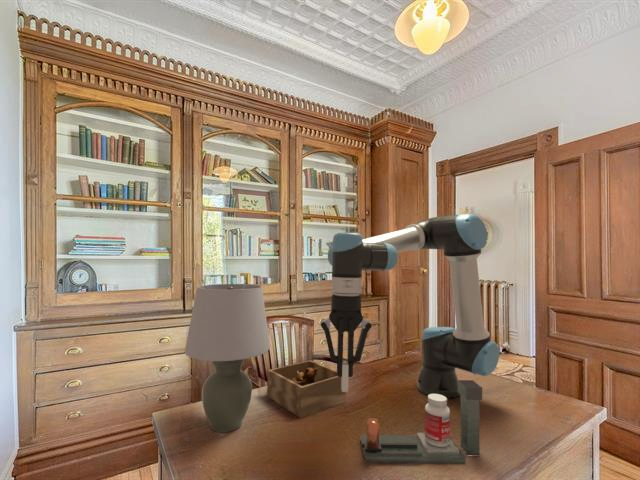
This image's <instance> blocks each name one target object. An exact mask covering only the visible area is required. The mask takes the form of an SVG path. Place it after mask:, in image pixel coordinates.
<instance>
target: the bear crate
mask: <svg viewBox="0 0 640 480" xmlns="http://www.w3.org/2000/svg"><path fill="white" fill-rule="evenodd" d="M307 367H308V368H313V369H315V367H316V368H317V371H316V375H315V378H314V379H315V383H312V384H308V385H305V386H301V385H299V384H297V383H295V382H293V381H292V379H293V378H296V379H297V371H298V373H299V372H303V373H304V372H305V369H306V368H307ZM266 381H267V384H266V385H267V386H266V387H267V388H266V397H268V398H269V399H270V400H273V401H274V402H276V403H277V404H279V405H280V406H282V407H283V408H284V409H286V410H287V411H289V412H291V413H292V414H294V415H295V416H297V417H298V418H300V419H302V418H305V417H308V416H310V415H313V414H315V413H319V412H322V411H324V410H327V409H329V408H332V407H335V406H338V405H341V404H344V403H346V402H347V392H342V389H341V377H338V375H337V369H333V368H331V367H329V366H325V365H323V364H321V363H318V362H317V361H314V360H311V359H309V360H305V361H300V362H296V363H292V364H287V365H283V366H279V367H274V368H271V369H267V380H266Z"/></svg>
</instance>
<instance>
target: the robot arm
mask: <svg viewBox="0 0 640 480" xmlns="http://www.w3.org/2000/svg"><path fill="white" fill-rule="evenodd" d="M332 238H333V239H332V245H331V246H330V247H329V248H328V251H327V260H328V263H329V265H330V266H331V267H332V268H331V269H332V270H331V293H333V294H332V295H331V300H330V301H331V302H330V303H331V306H330V307H331V308H330V313H329V316H328V318H326V319H325V320H321V321H320V326H321V328H322V330H323V331H324V335H325V341H326V343H327V349H328V353H329V354H328V355H329V358H330V361H332V362H335V363H336V371H337V375H338V377H341V389H342V392H346V393H349V378H353V375H354V373H353V372H354V364H355V363H359V362H360V361H361V359H362V356H363V352H364V348H365V345H366V339H367V336H368V333H369V331H370V330H371V328H372V326H373V325H372V323H371V322H370V321H367V320H366V319H364V316H363V314H362V296H361V295H360V294H361V293H362V277H363V276H362V274H363V271H380V272H384V271H390V270H392V269H394V268H395V267H396V266H397V263H398V260H399V258H398V257H399V256H398V254H401V253H403V252H407V251H409V250H410V251H414V252H415V251H420V250H443V256H444V257H445V258H446V259H447V260H448V262H449V269H450V278H451V289H452V297H453V306H454V315H455V316H454V317H455V324H456V325H455V326H456V328H455V327H451V326H433V327H432V326H431V327H425V328H424V330H422V337H421V348H422V349H421V351H422V352H421V355H422V358H421V359H422V368H421V369H420V373H419V376H418V379H417V389H418V391H420V392H421V393H423V394H424V395H427V396H428V395H429V394H440V395H443V396H445V397H446V398H447V399H449V398H448V397H454V398H456V397H455V396H458V395H459V394H460V393H459V392H458V380H459V379H458V376H457V372H456V369H459V370H461V371H464V372H467V373H470V374H473V375H479V376H482V377H488V376H490V375H491V374H492V373H493V372H494V371H495V369H496V368H497V366H498V363H499V360H500V359H499V358H500V346H499V345H498V344H497V342H495V341H493V340H491V335H490V332H489V331H488V330H487V329H485V326H484V325H485V323H484V314H483V305H482V296H481V295H482V294H481V286H480V284H481V283H480V277H479V275H480V274H479V266H478V257H479V256H480V255H481V254H482V249H484V248H485V247H486V245H487V243H488V242H487V240H488V230H487V227H486V224H485V223H484V220H482V219H481V217H479V216H478V215H476V214H473V213H460V214H452V215H444V216H435V217H430V218H426V219H423V220H420V221H418V222H417V221H416V222H415V223H410V224H408V225H406V226H405V227H404V228H403V229H398V230H395V231H391V232H385V233H382V234H378V235H375V236H369V237H367V238H363V235H362V234H361V233H359V232H337V233H335V234H334V235H333V237H332ZM331 324H332V325H333V326H334V328H335V330H336V331H337V347H336V348H337V352H336V353H335V350H334V344H333V340H332V336H331V332H330V331H331V330H330V328H331ZM359 326H360V327H361V330H360V334H359V337H358V340H357V341H358V342H357V346H356V348H355V349H356V350H355V352H354V337H355V331H356V330H357V329H358V328H359ZM345 332H346V333H347V361H345V360H344V334H345ZM354 353H355V354H354ZM460 395H461V394H460ZM460 395H459V396H460ZM459 396H458V397H459Z"/></svg>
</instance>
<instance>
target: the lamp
mask: <svg viewBox="0 0 640 480" xmlns="http://www.w3.org/2000/svg"><path fill="white" fill-rule="evenodd" d="M264 298H265V297H264V291H263V286H262V285H259V284H251V283H250V284H249V283H216V284H215V283H214V284H213V283H212V284H203V285H198V286H196V290H195V295H194V302H193V304H192V305H193V306H192V311H191V315H190V316H191V317H190V322H189V327H188V332H187V338H186V343H185V347H184V348H185V349H184V353H185V355H186V356H187V357H189V358H190V359H194V360H198V361H205V362H211V364H212V366H213V370H214V371H213V372H212V373H211V374H209V376H207V377H206V379H205V381H204V383H203V384H202V389H201V403H202V408H203V410H204V414H205V417H206V419H207V421H208V423H209V426H210V428H211V430H212V431H214V432H217V433H229V432H233V431H235V430H237V429H239V428H240V427H241V426H242V423H243V421H244V418H245V416H246V414H247V412H248V410H249V406H250V404H251V399H252V391H253V383H252V380H251V378H250V377H249V375H248V374H247V373H246V371H244V370H242V366H243V364H244V362H245V360H246V359H247V360H248V359H252V358H255V357H256V358H257V357H258V356H261V355H263V354H265V353H267V352H268V351H269V350H270V347H271V346H270V339H269V338H270V337H269V330H268V323H267V321H268V320H267V315H266V306H265V299H264Z"/></svg>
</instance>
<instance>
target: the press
mask: <svg viewBox="0 0 640 480" xmlns="http://www.w3.org/2000/svg"><path fill="white" fill-rule="evenodd" d="M458 392H459V393H460V448H461V447H462V448H463V449H462V448H461V449H462V451H463V452H464V451H465V452H466V453H465V452H464V453H465V454H466V456H467V455H480V454H481V452H480V449H481V448H480V446H481V445H480V439H481V437H480V431H481V430H480V401H483V387H482V386H480V385H479V384H478V383H477V382H476V381H475V380H469V379H467V380H465V379H462V380H461V379H458ZM360 443H361V448H362V452H363V453H362V454H363V457H364V461H365V463H376V464H378V463H384V464H385V463H386V464H387V463H388V464H390V463H391V464H394V463H395V464H396V463H397V464H398V463H399V464H466V456H465V455H464V454H463V452H462V451H461V450H460V448H459V447H458V445H457V444H456V442H455V441H454V440H453V439H452V437H451V436H450V444H449V445H448V446H446V447H437V446H433V445H431V444H429V443H428V442H427V441H426V439H425V432H416V434H415V435H411V434H409V435H408V434H407V435H403V434H400V435H399V434H394V435H393V434H379V443H380V445H381V448H382V452H379V451H365V449H364V443H367V434H360ZM480 456H481V455H480Z"/></svg>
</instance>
